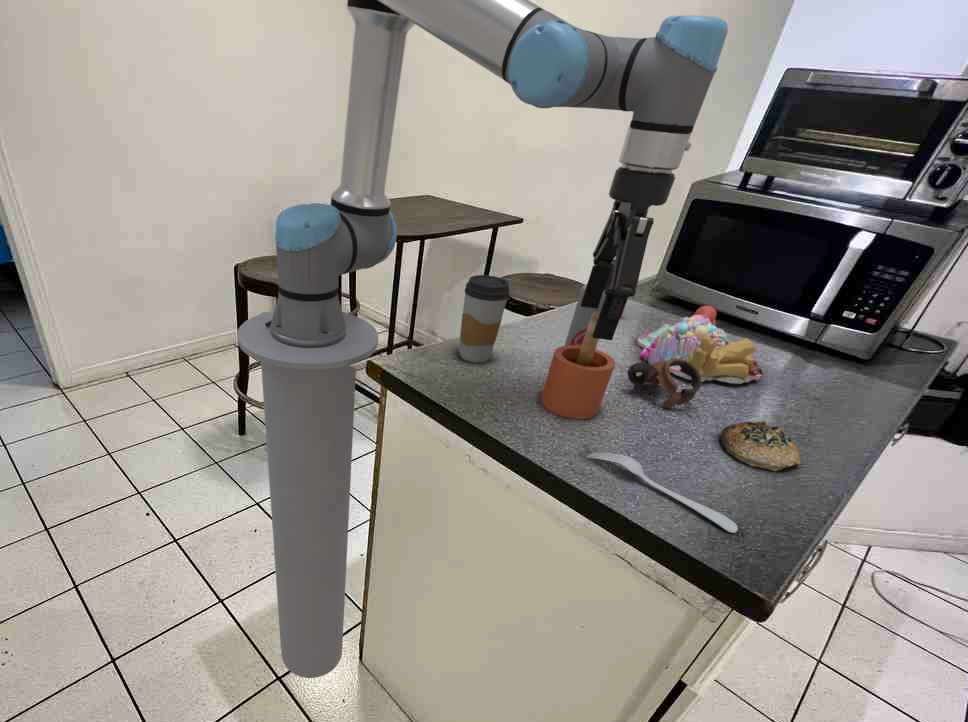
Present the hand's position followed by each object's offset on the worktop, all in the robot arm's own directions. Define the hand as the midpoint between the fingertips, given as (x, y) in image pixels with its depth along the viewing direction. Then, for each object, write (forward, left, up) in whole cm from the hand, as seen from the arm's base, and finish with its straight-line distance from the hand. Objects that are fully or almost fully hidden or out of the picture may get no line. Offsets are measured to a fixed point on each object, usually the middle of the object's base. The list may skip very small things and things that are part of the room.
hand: (594, 321), depth 83 cm
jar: (0, 0, -15) cm, 15 cm away
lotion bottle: (+3, +18, -15) cm, 24 cm away
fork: (+10, -22, -15) cm, 28 cm away
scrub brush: (0, 0, -14) cm, 14 cm away
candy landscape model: (+28, +28, -15) cm, 42 cm away
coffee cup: (-17, +15, -15) cm, 27 cm away
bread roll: (+28, -7, -15) cm, 33 cm away
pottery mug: (+16, +8, -15) cm, 24 cm away
